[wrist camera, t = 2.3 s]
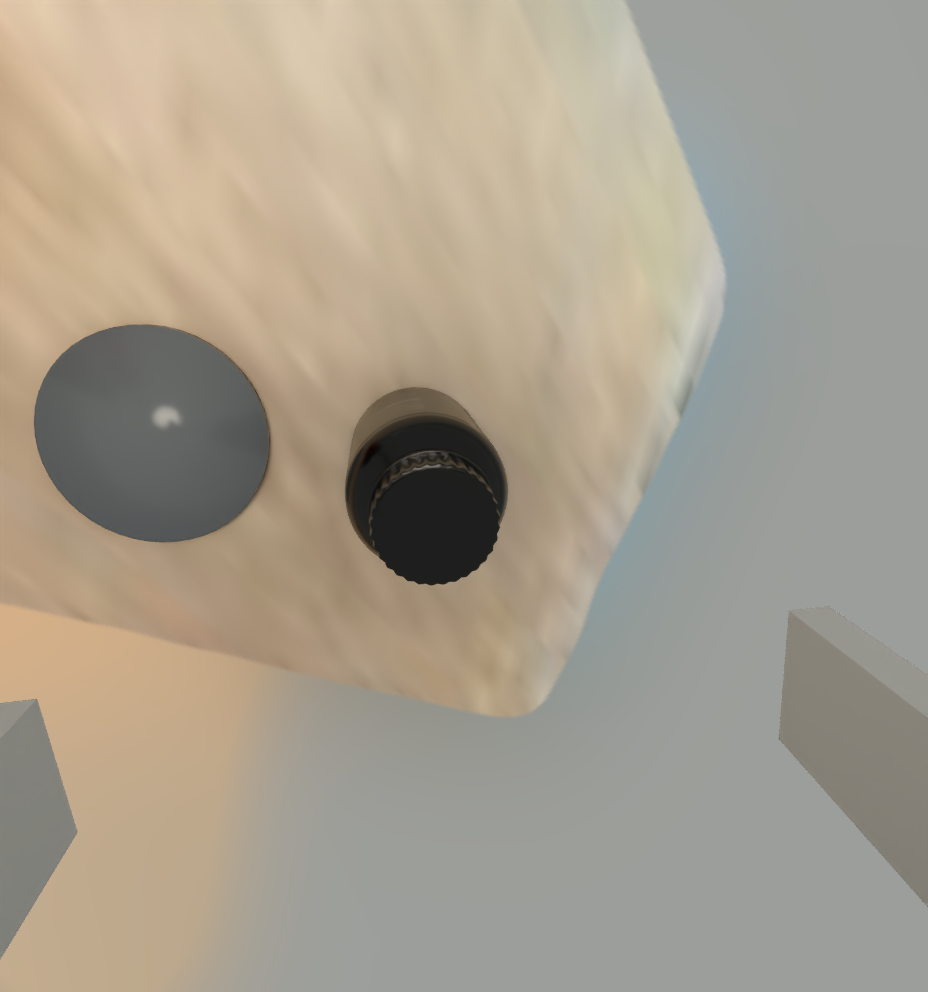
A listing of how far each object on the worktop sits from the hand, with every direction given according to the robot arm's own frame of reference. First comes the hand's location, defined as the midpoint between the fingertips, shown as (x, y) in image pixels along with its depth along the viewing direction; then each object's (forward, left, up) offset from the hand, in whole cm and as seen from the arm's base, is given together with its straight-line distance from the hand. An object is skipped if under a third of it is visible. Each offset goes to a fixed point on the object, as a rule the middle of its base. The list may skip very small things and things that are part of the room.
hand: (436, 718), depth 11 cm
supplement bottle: (+1, -1, -24) cm, 24 cm away
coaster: (-12, +1, -24) cm, 27 cm away
